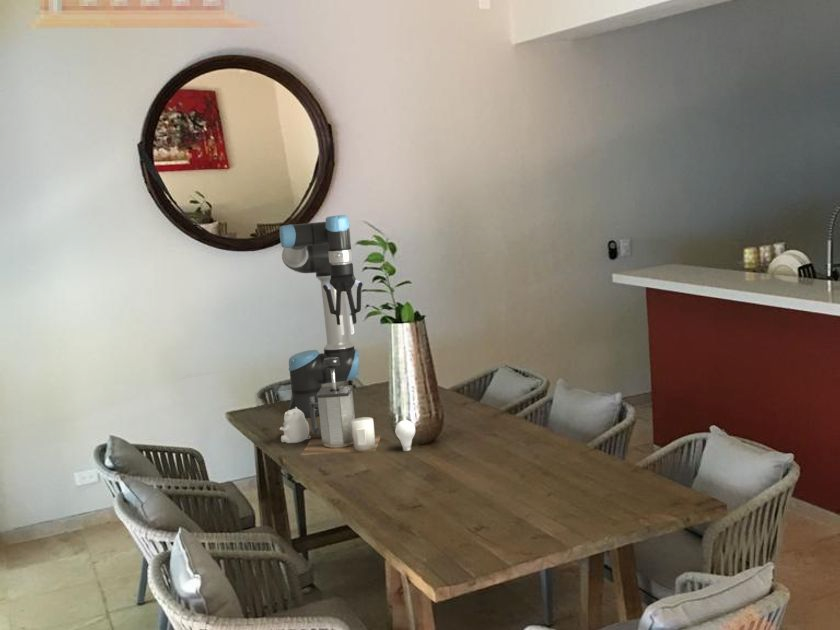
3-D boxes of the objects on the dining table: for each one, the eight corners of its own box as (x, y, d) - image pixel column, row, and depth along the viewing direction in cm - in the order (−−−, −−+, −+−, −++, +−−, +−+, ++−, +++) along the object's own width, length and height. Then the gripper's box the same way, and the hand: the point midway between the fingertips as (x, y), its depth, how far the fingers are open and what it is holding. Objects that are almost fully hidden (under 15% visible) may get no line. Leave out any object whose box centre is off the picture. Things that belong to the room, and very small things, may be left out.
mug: (355, 444, 283) (352, 417, 282) (376, 443, 283) (374, 416, 282) (351, 453, 275) (349, 425, 274) (373, 451, 275) (371, 424, 273)
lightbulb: (393, 456, 273) (390, 422, 271) (403, 450, 278) (400, 417, 277) (411, 458, 270) (408, 423, 268) (421, 451, 275) (418, 418, 274)
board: (310, 444, 293) (310, 439, 293) (381, 439, 292) (380, 435, 291) (301, 459, 277) (301, 454, 277) (376, 455, 276) (375, 450, 276)
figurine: (314, 438, 300) (311, 404, 298) (308, 447, 290) (304, 412, 288) (286, 439, 301) (282, 405, 299) (279, 448, 291) (275, 413, 289)
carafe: (316, 439, 292) (311, 387, 289) (358, 437, 291) (353, 385, 288) (311, 449, 282) (305, 396, 279) (353, 447, 281) (348, 393, 278)
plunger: (326, 409, 289) (320, 356, 286) (351, 407, 288) (346, 355, 286) (321, 416, 281) (316, 362, 278) (347, 414, 280) (342, 360, 277)
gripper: (315, 266, 280) (322, 337, 284) (363, 262, 279) (370, 334, 283) (319, 263, 288) (326, 333, 292) (366, 260, 287) (372, 330, 291)
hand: (347, 333), depth 287 cm, fingers open, 3 cm apart
